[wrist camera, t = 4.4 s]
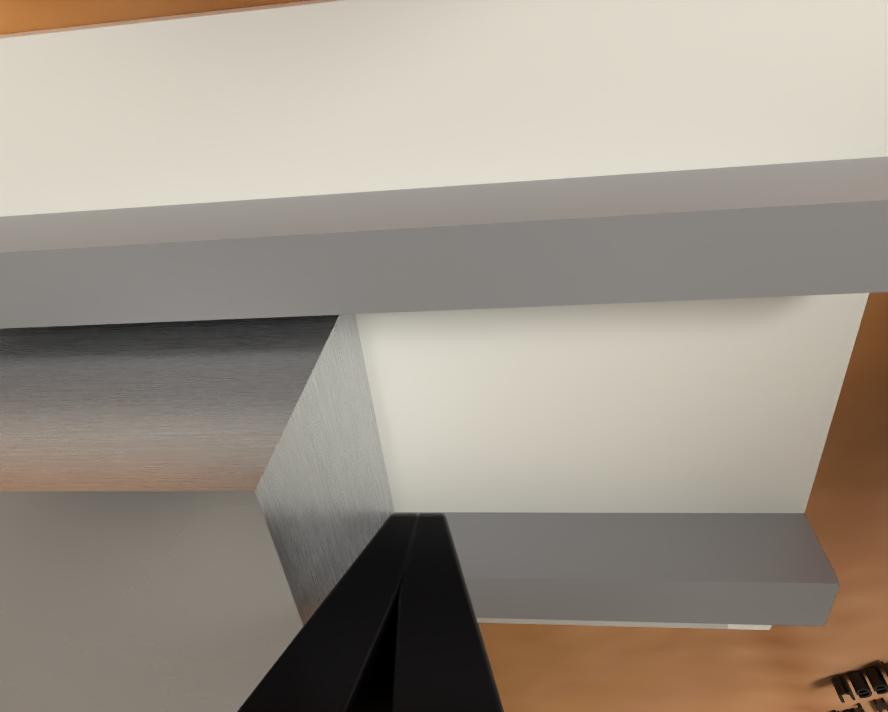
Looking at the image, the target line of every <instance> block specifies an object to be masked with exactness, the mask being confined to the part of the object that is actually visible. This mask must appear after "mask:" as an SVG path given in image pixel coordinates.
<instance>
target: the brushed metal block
mask: <svg viewBox="0 0 888 712" xmlns="http://www.w3.org/2000/svg"><path fill="white" fill-rule="evenodd" d="M393 513H395V512H394V507H393V502H392V497H391V492H390V487H389V482H388V477H387V472H386V467H385V462H384V457H383V452H382V447H381V442H380V437H379V432H378V427H377V422H376V417H375V412H374V407H373V402H372V397H371V392H370V387H369V382H368V377H367V372H366V367H365V362H364V357H363V352H362V347H361V342H360V337H359V332H358V327H357V322H356V317H355V314H344V315H320V316H295V317H271V318H247V319H223V320H198V321H174V322H150V323H125V324H101V325H77V326H53V327H28V328H4V329H0V712H237V711H238V710H239V708H240V707H241V706H242V705H243V703H244V702H245V701H246V699H247V698H248V697H249V696H250V694H251V693H252V692H253V690H254V689H255V688H256V687H257V685H258V684H259V683H260V681H261V680H262V679H263V678H264V676H265V675H266V674H267V672H268V671H269V670H270V669H271V667H272V666H273V665H274V663H275V662H276V661H277V660H278V658H279V657H280V656H281V654H282V653H283V652H284V651H285V649H286V648H287V647H288V645H289V644H290V643H291V642H292V640H293V639H294V638H295V636H296V635H297V634H298V633H299V631H300V630H301V629H302V627H303V626H304V625H305V624H306V622H307V621H308V620H309V618H310V617H311V616H312V615H313V613H314V612H315V611H316V609H317V608H318V607H319V606H320V604H321V603H322V602H323V600H324V599H325V598H326V597H327V595H328V594H329V593H330V591H331V590H332V589H333V588H334V586H335V585H336V584H337V582H338V581H339V580H340V579H341V577H342V576H343V575H344V573H345V572H346V571H347V570H348V568H349V567H350V566H351V564H352V563H353V562H354V561H355V559H356V558H357V557H358V555H359V554H360V553H361V552H362V550H363V549H364V548H365V546H366V545H367V544H368V543H369V541H370V540H371V539H372V537H373V536H374V535H375V534H376V532H377V531H378V530H379V528H380V527H381V526H382V525H383V523H384V522H385V521H386V519H387V518H388V517H389V516H390V515H391V514H393Z"/></svg>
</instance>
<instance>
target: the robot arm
mask: <svg viewBox="0 0 888 712" xmlns="http://www.w3.org/2000/svg"><path fill="white" fill-rule="evenodd" d="M237 712H504V710H503V707H502V703H501V700H500V697H499V693H498V690H497V686H496V683H495V680H494V676H493V673H492V669H491V666H490V663H489V659H488V656H487V652H486V649H485V646H484V642H483V639H482V635H481V632H480V629H479V625H478V622H477V619H476V615H475V612H474V608H473V605H472V602H471V598H470V595H469V591H468V588H467V585H466V581H465V578H464V574H463V571H462V568H461V564H460V561H459V557H458V554H457V551H456V547H455V544H454V540H453V537H452V534H451V530H450V527H449V523H448V520H447V517H446V515H445V514H444V513H442V512H421V513H419V514H418V513H416V512H396V513H393V514H391V515H390V516H389V517H388V518H387V519H386V521H385V522H384V523H383V525H382V526H381V527H380V528H379V530H378V531H377V532H376V534H375V535H374V536H373V537H372V539H371V540H370V541H369V543H368V544H367V545H366V546H365V548H364V549H363V550H362V552H361V553H360V554H359V555H358V557H357V558H356V559H355V561H354V562H353V563H352V564H351V566H350V567H349V568H348V570H347V571H346V572H345V573H344V575H343V576H342V577H341V579H340V580H339V581H338V582H337V584H336V585H335V586H334V588H333V589H332V590H331V591H330V593H329V594H328V595H327V597H326V598H325V599H324V600H323V602H322V603H321V604H320V606H319V607H318V608H317V609H316V611H315V612H314V613H313V615H312V616H311V617H310V618H309V620H308V621H307V622H306V624H305V625H304V626H303V627H302V629H301V630H300V631H299V633H298V634H297V635H296V636H295V638H294V639H293V640H292V642H291V643H290V644H289V645H288V647H287V648H286V649H285V651H284V652H283V653H282V654H281V656H280V657H279V658H278V660H277V661H276V662H275V663H274V665H273V666H272V667H271V669H270V670H269V671H268V672H267V674H266V675H265V676H264V678H263V679H262V680H261V681H260V683H259V684H258V685H257V687H256V688H255V689H254V690H253V692H252V693H251V694H250V696H249V697H248V698H247V699H246V701H245V702H244V703H243V705H242V706H241V707H240V708H239V710H238V711H237Z"/></svg>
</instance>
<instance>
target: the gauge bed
mask: <svg viewBox="0 0 888 712" xmlns="http://www.w3.org/2000/svg"><path fill="white" fill-rule="evenodd" d="M878 292H888V0H309V1H300V2H291V3H282V4H273V5H264V6H255V7H246V8H237V9H228V10H219V11H210V12H201V13H192V14H183V15H174V16H165V17H156V18H147V19H138V20H129V21H120V22H111V23H102V24H93V25H84V26H75V27H66V28H57V29H48V30H39V31H30V32H21V33H12V34H3V35H0V329H4V328H28V327H53V326H77V325H101V324H125V323H150V322H174V321H198V320H223V319H247V318H271V317H295V316H320V315H344V314H355V317H356V322H357V327H358V332H359V337H360V342H361V347H362V352H363V357H364V362H365V367H366V372H367V377H368V382H369V387H370V392H371V397H372V402H373V407H374V412H375V417H376V422H377V427H378V432H379V437H380V442H381V447H382V452H383V457H384V462H385V467H386V472H387V477H388V482H389V487H390V492H391V497H392V502H393V507H394V512H395V513H396V512H416V513H418V514H419V513H421V512H442V513H444V514H445V515H446V517H447V520H448V523H449V527H450V530H451V534H452V537H453V540H454V544H455V547H456V551H457V554H458V557H459V561H460V564H461V568H462V571H463V574H464V578H465V581H466V585H467V588H468V591H469V595H470V598H471V602H472V605H473V608H474V612H475V615H476V619H477V622H478V623H517V624H556V625H594V626H633V627H671V628H710V629H749V630H770V628H771V625H784V626H825V624H826V621H827V618H828V616H829V613H830V610H831V607H832V605H833V602H834V599H835V597H836V594H837V591H838V588H839V586H840V582H839V580H838V578H837V576H836V574H835V572H834V570H833V568H832V566H831V564H830V562H829V560H828V559H827V557H826V555H825V553H824V551H823V549H822V547H821V545H820V543H819V541H818V539H817V537H816V535H815V533H814V531H813V529H812V527H811V525H810V523H809V521H808V519H807V517H806V515H805V510H806V506H807V503H808V499H809V496H810V493H811V489H812V486H813V482H814V479H815V476H816V472H817V469H818V465H819V462H820V459H821V455H822V452H823V448H824V445H825V442H826V438H827V435H828V431H829V428H830V425H831V421H832V418H833V415H834V411H835V408H836V404H837V401H838V398H839V394H840V391H841V387H842V384H843V381H844V377H845V374H846V370H847V367H848V364H849V360H850V357H851V353H852V350H853V347H854V343H855V340H856V336H857V333H858V330H859V326H860V323H861V320H862V316H863V313H864V309H865V306H866V303H867V299H868V296H869V293H878Z"/></svg>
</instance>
